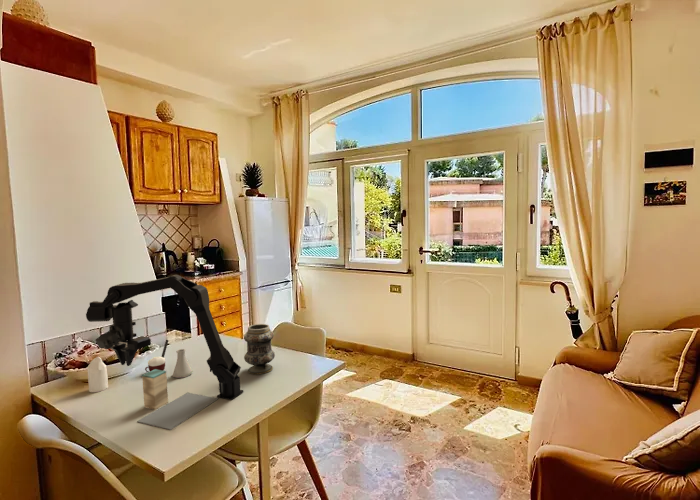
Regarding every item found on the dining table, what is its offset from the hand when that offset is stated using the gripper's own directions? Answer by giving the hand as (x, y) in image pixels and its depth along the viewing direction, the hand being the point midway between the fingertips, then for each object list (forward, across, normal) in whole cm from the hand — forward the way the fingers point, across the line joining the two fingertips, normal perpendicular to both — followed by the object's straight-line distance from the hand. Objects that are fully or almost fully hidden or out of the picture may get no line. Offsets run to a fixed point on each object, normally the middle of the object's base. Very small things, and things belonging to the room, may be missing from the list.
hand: (126, 365), depth 129 cm
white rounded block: (+12, -18, +2) cm, 22 cm away
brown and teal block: (+12, +13, 0) cm, 18 cm away
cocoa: (+12, -10, +21) cm, 26 cm away
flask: (+12, +2, +22) cm, 25 cm away
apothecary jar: (+12, +29, +36) cm, 48 cm away
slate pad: (+12, +23, 0) cm, 26 cm away
